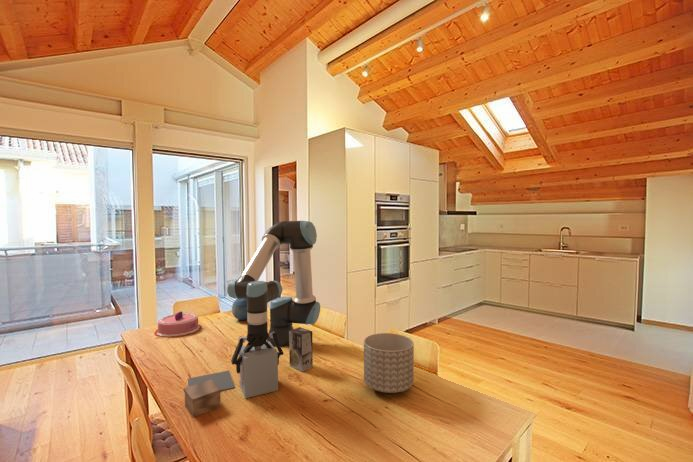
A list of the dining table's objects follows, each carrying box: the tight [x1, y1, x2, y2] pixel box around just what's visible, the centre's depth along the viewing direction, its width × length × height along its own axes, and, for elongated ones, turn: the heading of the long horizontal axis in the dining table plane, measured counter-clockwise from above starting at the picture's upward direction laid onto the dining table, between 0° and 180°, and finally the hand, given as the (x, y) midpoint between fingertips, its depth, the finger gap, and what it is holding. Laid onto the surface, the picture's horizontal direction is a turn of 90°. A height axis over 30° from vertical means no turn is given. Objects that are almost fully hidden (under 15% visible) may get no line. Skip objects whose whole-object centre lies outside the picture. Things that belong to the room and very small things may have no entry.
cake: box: [153, 311, 202, 338], centre depth 196 cm, size 25×25×11 cm
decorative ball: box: [231, 298, 247, 321], centre depth 215 cm, size 15×15×15 cm
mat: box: [187, 370, 236, 391], centre depth 132 cm, size 16×16×1 cm
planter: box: [363, 332, 415, 394], centre depth 129 cm, size 19×19×18 cm
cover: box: [238, 341, 279, 399], centre depth 129 cm, size 12×12×16 cm
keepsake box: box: [183, 380, 223, 418], centre depth 116 cm, size 10×10×6 cm
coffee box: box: [288, 326, 314, 372], centre depth 147 cm, size 9×6×16 cm
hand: (258, 376), depth 129 cm, fingers closed on cover, 12 cm apart
